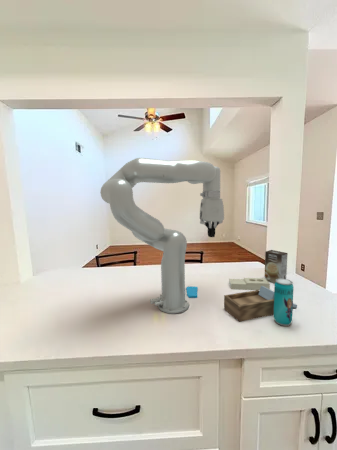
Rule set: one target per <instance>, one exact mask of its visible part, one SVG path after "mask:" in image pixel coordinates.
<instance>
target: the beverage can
mask: <svg viewBox="0 0 337 450" xmlns="http://www.w3.org/2000/svg"><path fill="white" fill-rule="evenodd" d="M293 284H294V283H293V281H292V280H290V279H287V278H286V279H276V282H275V283H274V288H273V289H274V290H273V291H274V315H273V320H274V322H275V323H276V324H277V325H279V326H283V327H288V326H290V325H291V324H292V321H293V309H294V307H293V303H294V285H293Z"/></svg>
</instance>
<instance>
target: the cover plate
mask: <svg viewBox="0 0 337 450" xmlns="http://www.w3.org/2000/svg"><path fill="white" fill-rule="evenodd" d="M258 295H260V296H262V297H263V298H265V299H267V300H271V299H274V290H272V289H271V288H270V289H268V288H266V287H264V286H261V288H260V290H259V294H258ZM294 308H295V309H297V308H298V305H297V304H296V303H294V302H293V309H294Z"/></svg>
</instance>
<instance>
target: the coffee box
mask: <svg viewBox="0 0 337 450" xmlns="http://www.w3.org/2000/svg"><path fill="white" fill-rule="evenodd" d="M264 254H265V255H264V277H263V278H265V279H266V280H267V281H268V282H269V283H272V284H275V282H276V279H287V274H288V273H287V272H288V252H283V251H278V250H274V249H270V250H266V251H265V253H264Z"/></svg>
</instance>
